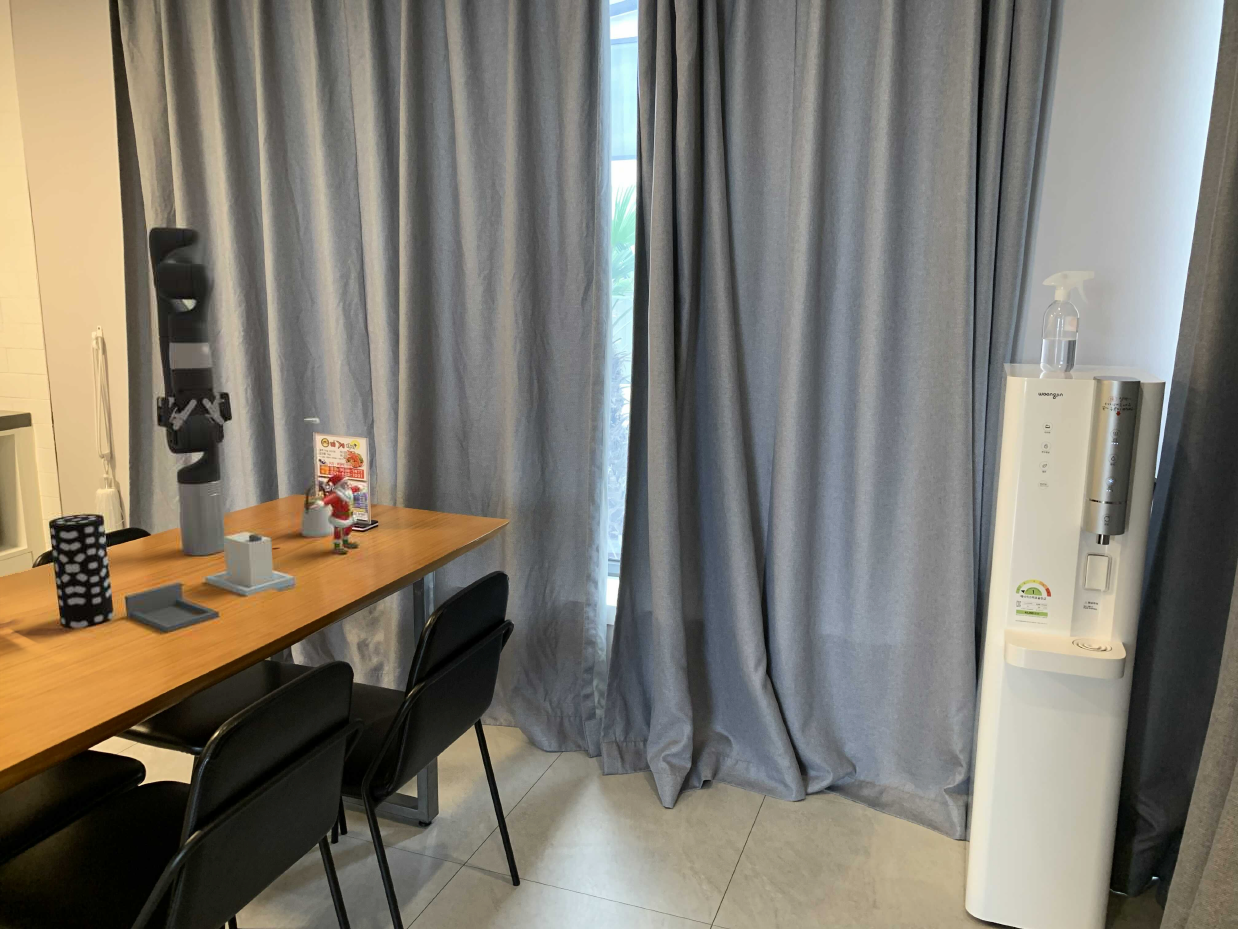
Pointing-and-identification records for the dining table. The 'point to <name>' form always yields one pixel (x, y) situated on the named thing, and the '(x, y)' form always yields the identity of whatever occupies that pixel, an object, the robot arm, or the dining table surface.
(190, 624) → the bay
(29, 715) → the dining table surface
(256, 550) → the white block with knob
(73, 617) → the white-spotted black cylinder
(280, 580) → the tray
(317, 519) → the white tall stand
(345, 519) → the santa figurine
